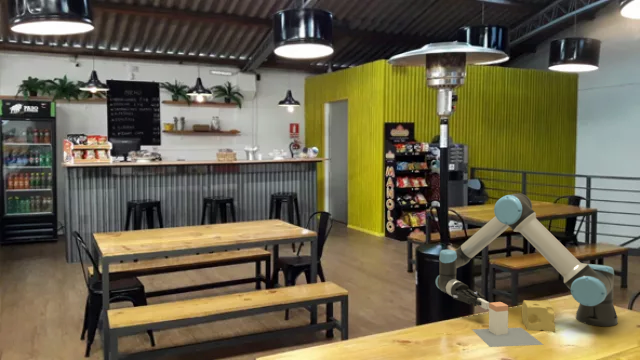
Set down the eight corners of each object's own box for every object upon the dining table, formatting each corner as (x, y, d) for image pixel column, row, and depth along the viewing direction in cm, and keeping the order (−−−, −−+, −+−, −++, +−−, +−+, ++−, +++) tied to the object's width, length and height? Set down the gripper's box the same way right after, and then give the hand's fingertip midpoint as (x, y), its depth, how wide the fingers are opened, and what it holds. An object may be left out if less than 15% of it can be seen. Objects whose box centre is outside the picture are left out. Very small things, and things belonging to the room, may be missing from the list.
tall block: (500, 329, 208) (500, 301, 208) (507, 333, 203) (508, 305, 203) (488, 330, 207) (489, 302, 206) (496, 335, 202) (496, 306, 202)
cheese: (555, 333, 205) (555, 308, 204) (525, 331, 207) (526, 306, 206) (549, 324, 215) (549, 300, 214) (521, 323, 217) (521, 299, 217)
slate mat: (521, 329, 210) (521, 327, 210) (543, 346, 192) (543, 344, 192) (471, 330, 209) (471, 329, 209) (489, 348, 191) (489, 346, 191)
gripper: (471, 297, 237) (501, 313, 214) (444, 299, 233) (472, 316, 211) (471, 280, 236) (502, 295, 213) (444, 282, 233) (473, 298, 210)
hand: (487, 306), depth 212 cm, fingers closed
